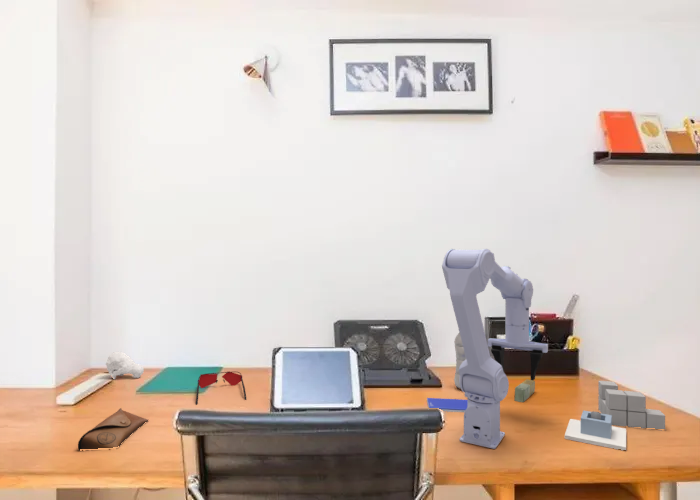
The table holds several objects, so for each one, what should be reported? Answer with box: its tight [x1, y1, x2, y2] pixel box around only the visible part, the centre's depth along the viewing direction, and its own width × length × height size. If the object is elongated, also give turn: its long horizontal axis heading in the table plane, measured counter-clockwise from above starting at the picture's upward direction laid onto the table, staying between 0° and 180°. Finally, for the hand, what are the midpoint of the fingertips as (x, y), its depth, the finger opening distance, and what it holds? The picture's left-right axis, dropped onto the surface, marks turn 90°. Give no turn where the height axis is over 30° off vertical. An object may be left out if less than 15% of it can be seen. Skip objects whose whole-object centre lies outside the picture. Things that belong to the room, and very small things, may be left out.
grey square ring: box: [580, 409, 613, 439], centre depth 105 cm, size 6×6×4 cm
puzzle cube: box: [597, 380, 666, 430], centre depth 115 cm, size 12×12×8 cm
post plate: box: [564, 410, 627, 451], centre depth 104 cm, size 12×12×5 cm
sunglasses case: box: [77, 407, 149, 451], centre depth 105 cm, size 18×7×7 cm
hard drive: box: [426, 397, 467, 413], centre depth 124 cm, size 2×8×12 cm
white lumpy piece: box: [105, 351, 145, 380], centre depth 152 cm, size 6×8×12 cm
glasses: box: [195, 371, 247, 405], centre depth 135 cm, size 14×16×5 cm
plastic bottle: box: [453, 331, 466, 390], centre depth 140 cm, size 6×7×20 cm
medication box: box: [513, 378, 536, 403], centre depth 133 cm, size 12×3×4 cm, turn 143°
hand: (517, 377), depth 116 cm, fingers open, 7 cm apart
